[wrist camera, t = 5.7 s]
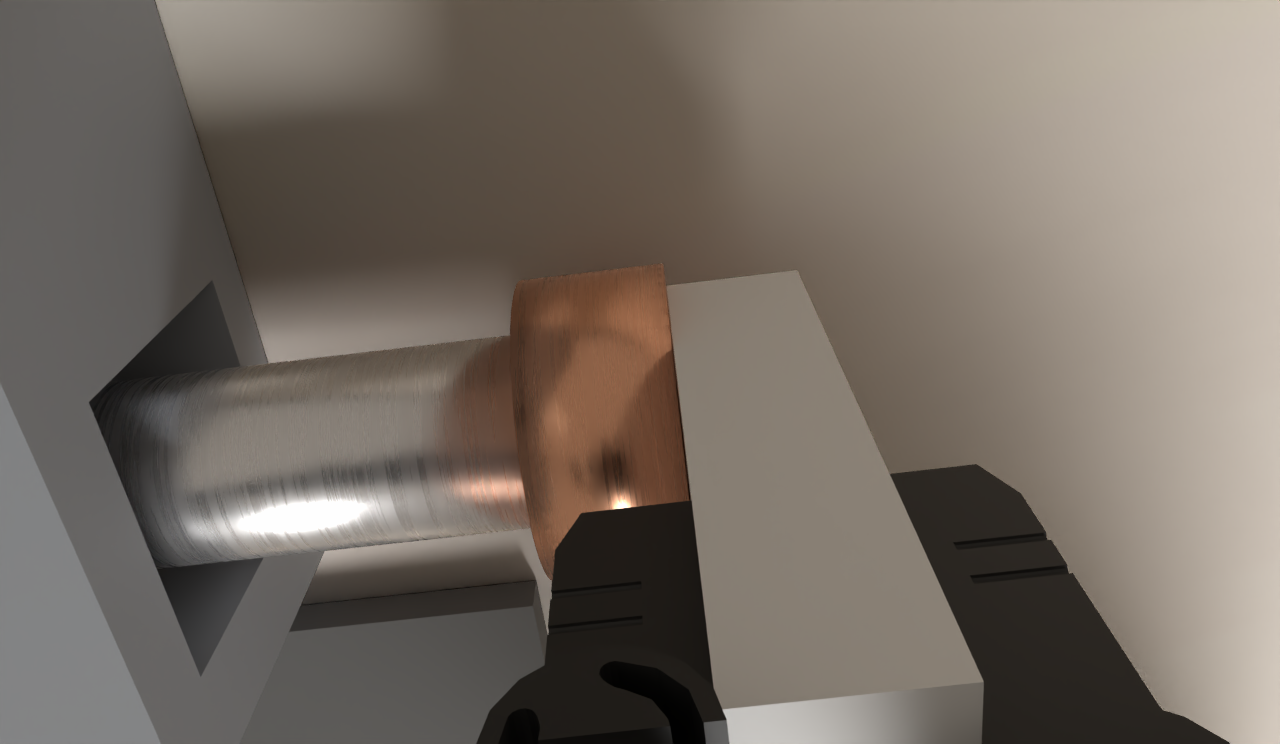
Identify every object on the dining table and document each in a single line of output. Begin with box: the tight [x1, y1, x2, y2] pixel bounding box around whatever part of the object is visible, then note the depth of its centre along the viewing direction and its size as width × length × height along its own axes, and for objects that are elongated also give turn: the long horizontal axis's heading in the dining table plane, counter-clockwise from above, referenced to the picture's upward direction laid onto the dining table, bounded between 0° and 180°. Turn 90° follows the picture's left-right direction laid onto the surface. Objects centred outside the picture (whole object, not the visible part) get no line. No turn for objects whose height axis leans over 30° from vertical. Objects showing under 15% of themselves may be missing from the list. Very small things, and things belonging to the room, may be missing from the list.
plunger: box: [89, 263, 691, 580], centre depth 12 cm, size 10×3×3 cm, turn 97°
